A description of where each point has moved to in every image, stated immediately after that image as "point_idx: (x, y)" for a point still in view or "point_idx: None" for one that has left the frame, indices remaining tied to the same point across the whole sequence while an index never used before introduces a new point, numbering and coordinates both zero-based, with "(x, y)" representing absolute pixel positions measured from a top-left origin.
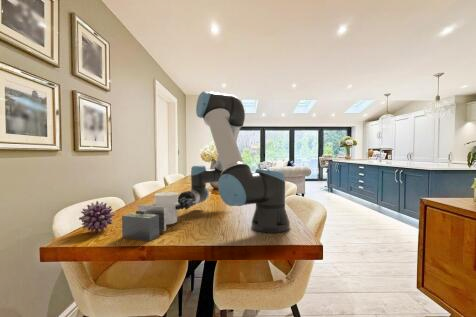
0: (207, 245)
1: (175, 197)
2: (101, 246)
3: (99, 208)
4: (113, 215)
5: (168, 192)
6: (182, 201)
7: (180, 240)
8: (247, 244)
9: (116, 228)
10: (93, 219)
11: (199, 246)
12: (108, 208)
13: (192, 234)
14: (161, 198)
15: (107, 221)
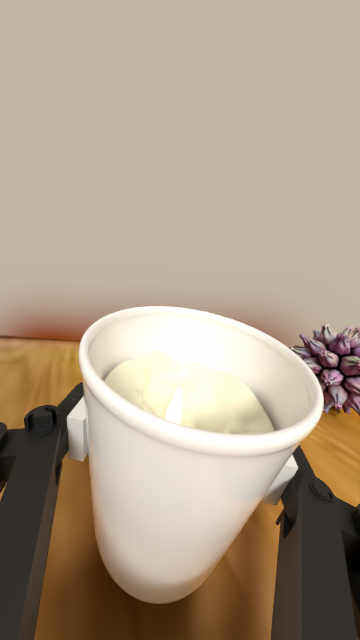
0: (3, 338)
1: (104, 340)
2: None
3: (323, 335)
4: (324, 381)
5: (271, 434)
6: (35, 408)
7: (69, 358)
8: None
9: (318, 433)
10: (300, 347)
11: (25, 337)
12: (348, 361)
13: (22, 390)
14: (182, 323)
15: None
